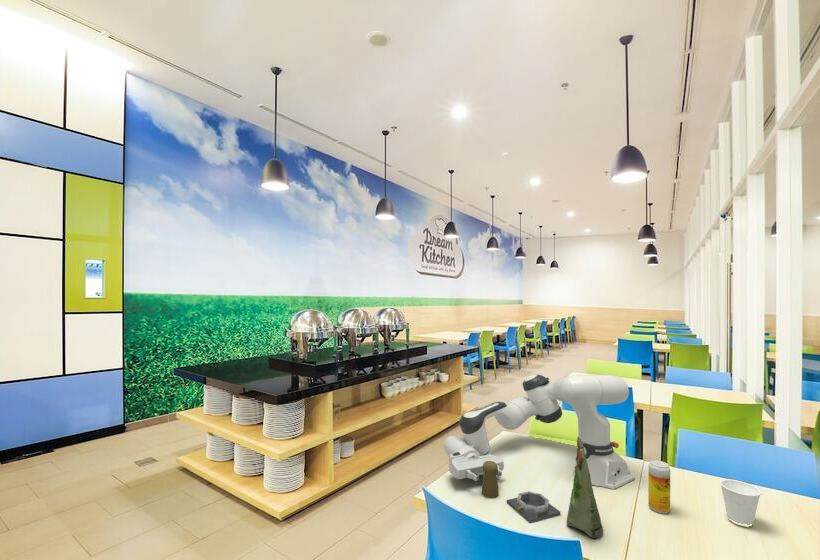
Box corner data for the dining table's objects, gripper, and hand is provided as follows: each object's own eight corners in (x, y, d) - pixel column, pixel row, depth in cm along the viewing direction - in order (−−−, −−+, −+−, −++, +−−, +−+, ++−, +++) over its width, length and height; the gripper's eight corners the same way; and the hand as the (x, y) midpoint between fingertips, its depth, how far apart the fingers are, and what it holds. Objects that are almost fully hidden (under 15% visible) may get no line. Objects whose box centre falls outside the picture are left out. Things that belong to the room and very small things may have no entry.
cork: (499, 499, 135) (499, 467, 135) (481, 497, 136) (481, 465, 136) (498, 490, 141) (498, 459, 141) (481, 488, 142) (481, 457, 142)
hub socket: (535, 496, 137) (535, 487, 137) (560, 515, 126) (560, 505, 126) (506, 502, 133) (506, 494, 133) (529, 523, 121) (529, 513, 121)
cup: (764, 536, 116) (764, 498, 116) (722, 525, 121) (722, 489, 121) (757, 519, 124) (757, 484, 125) (717, 509, 130) (717, 476, 130)
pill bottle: (663, 516, 125) (663, 469, 126) (644, 506, 131) (644, 461, 131) (674, 511, 128) (674, 465, 128) (655, 502, 134) (655, 458, 134)
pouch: (585, 543, 112) (585, 455, 112) (554, 520, 123) (554, 440, 123) (612, 534, 117) (613, 449, 117) (580, 512, 127) (581, 435, 128)
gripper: (491, 463, 156) (513, 480, 143) (445, 472, 148) (463, 490, 135) (492, 447, 156) (513, 462, 143) (445, 455, 148) (464, 472, 135)
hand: (489, 476), depth 139 cm, fingers open, 8 cm apart
